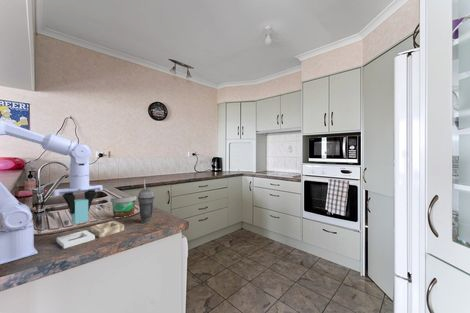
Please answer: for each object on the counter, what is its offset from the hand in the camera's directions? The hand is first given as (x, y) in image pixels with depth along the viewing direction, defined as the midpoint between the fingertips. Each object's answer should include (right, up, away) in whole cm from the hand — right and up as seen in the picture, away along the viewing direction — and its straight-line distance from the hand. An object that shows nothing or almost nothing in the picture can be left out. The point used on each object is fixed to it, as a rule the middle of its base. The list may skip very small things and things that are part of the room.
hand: (79, 212), depth 74 cm
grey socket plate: (-1, -10, -1) cm, 10 cm away
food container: (+1, -10, +27) cm, 29 cm away
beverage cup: (+16, -10, +20) cm, 27 cm away
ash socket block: (+6, -10, +8) cm, 14 cm away
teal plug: (0, -3, 0) cm, 3 cm away
